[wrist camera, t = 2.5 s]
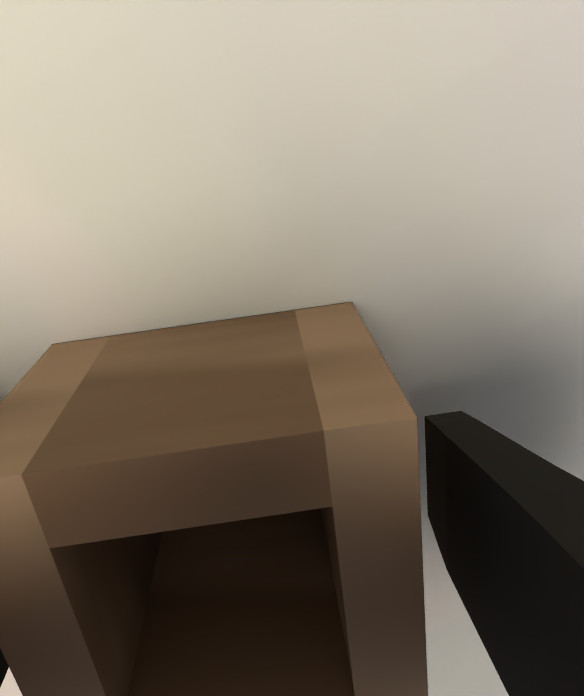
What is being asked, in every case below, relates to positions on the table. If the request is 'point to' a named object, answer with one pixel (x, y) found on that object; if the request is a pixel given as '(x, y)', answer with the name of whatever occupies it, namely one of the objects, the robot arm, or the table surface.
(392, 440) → the wooden block with hole
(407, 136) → the table surface
